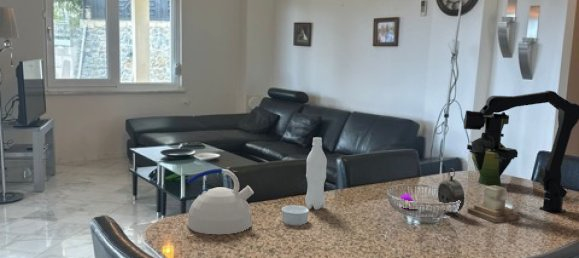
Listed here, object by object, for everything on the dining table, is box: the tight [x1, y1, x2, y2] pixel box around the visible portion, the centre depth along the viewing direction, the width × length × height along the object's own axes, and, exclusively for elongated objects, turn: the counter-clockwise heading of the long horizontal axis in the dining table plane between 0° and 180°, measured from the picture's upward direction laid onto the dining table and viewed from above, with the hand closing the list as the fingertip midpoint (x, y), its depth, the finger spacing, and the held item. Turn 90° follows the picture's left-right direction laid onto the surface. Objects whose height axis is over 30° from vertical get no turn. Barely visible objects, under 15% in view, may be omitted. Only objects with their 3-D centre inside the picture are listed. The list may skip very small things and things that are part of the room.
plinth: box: [467, 203, 521, 224], centre depth 188 cm, size 12×12×3 cm
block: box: [482, 185, 507, 210], centre depth 187 cm, size 5×5×7 cm
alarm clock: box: [437, 167, 465, 218], centre depth 188 cm, size 11×5×16 cm, turn 14°
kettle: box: [186, 168, 255, 236], centre depth 169 cm, size 20×21×18 cm
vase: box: [471, 112, 512, 186], centre depth 233 cm, size 16×16×30 cm
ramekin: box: [281, 205, 310, 226], centre depth 175 cm, size 9×9×4 cm
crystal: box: [399, 192, 415, 202], centre depth 195 cm, size 5×5×5 cm
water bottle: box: [304, 136, 328, 211], centre depth 189 cm, size 7×7×25 cm
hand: (489, 172), depth 198 cm, fingers open, 9 cm apart
